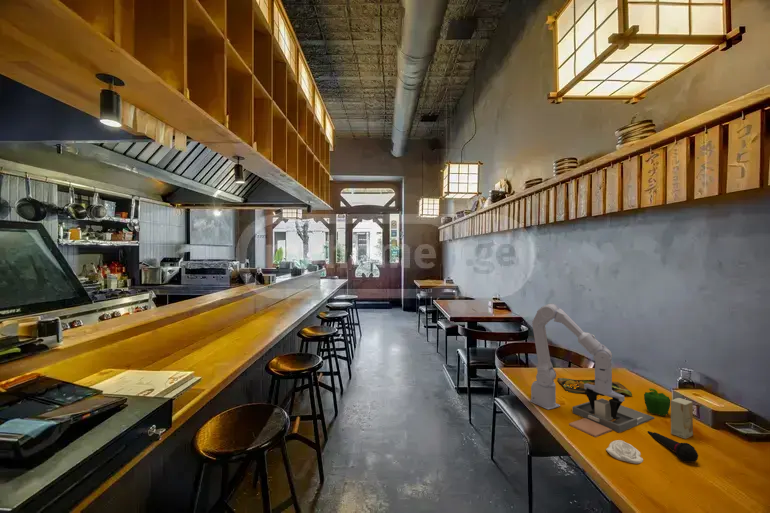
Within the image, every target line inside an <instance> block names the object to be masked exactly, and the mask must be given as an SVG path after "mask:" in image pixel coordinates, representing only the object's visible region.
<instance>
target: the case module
mask: <svg viewBox="0 0 770 513" xmlns="http://www.w3.org/2000/svg"><path fill="white" fill-rule="evenodd" d="M594 415H596V416H599V417H601V418H603V419H606V420H608V421H614V419H613V417H611V406H610V402H609V399H605V398H600V399H597V400H595V414H594Z"/></svg>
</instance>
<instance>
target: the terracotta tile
mask: <svg viewBox="0 0 770 513" xmlns="http://www.w3.org/2000/svg"><path fill="white" fill-rule="evenodd" d="M568 426H570V427H573V428H574V429H577V430H579V431H581V432H583V433H585V434H587V435H590V436H591V437H594V438H598V437H600V436H602V435H605V434H608V433H611V432H613V430H612V429H610V428H608V427H605V426H603V425H601V424H598V423H596V422H594V421H591V420H589V419H587V418H584V417H583V418H581V419H578V420H575V421H572V422H569V423H568Z"/></svg>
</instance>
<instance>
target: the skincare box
mask: <svg viewBox="0 0 770 513" xmlns="http://www.w3.org/2000/svg"><path fill="white" fill-rule="evenodd" d="M693 403H694V402H693V401H691V400H688V399H684V398H680V397H676V398H674V399H672V400H671V399H670V434H671V435H674V436H676V437H679V438H682V439H684V440H686V439H688V438H690V437H692V436H694V430H693V429H694V428H693V427H694V426H693V425H694V420H693V419H694V417H693V413H694V412H693V409H694V406H693Z"/></svg>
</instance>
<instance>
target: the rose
mask: <svg viewBox="0 0 770 513" xmlns="http://www.w3.org/2000/svg"><path fill="white" fill-rule="evenodd" d="M605 450H606V451H607V453H608V454H609V455H610V456H612V457H613V458H614V459H616V460H618V461H623V462H626V463H630V464H635V465H638V464H639V465H640V464H641V463H643V462H644V459H643V457H642V456H641V455H642V454H641V451H639V449H637V448H636V447H634V446H633V445H632V444H630V443H628V442H625V441H624V440H621V439H618V440H617V439H616V440H613V441H611V442H610V443H609V445H608V447H607V448H605Z"/></svg>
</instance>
